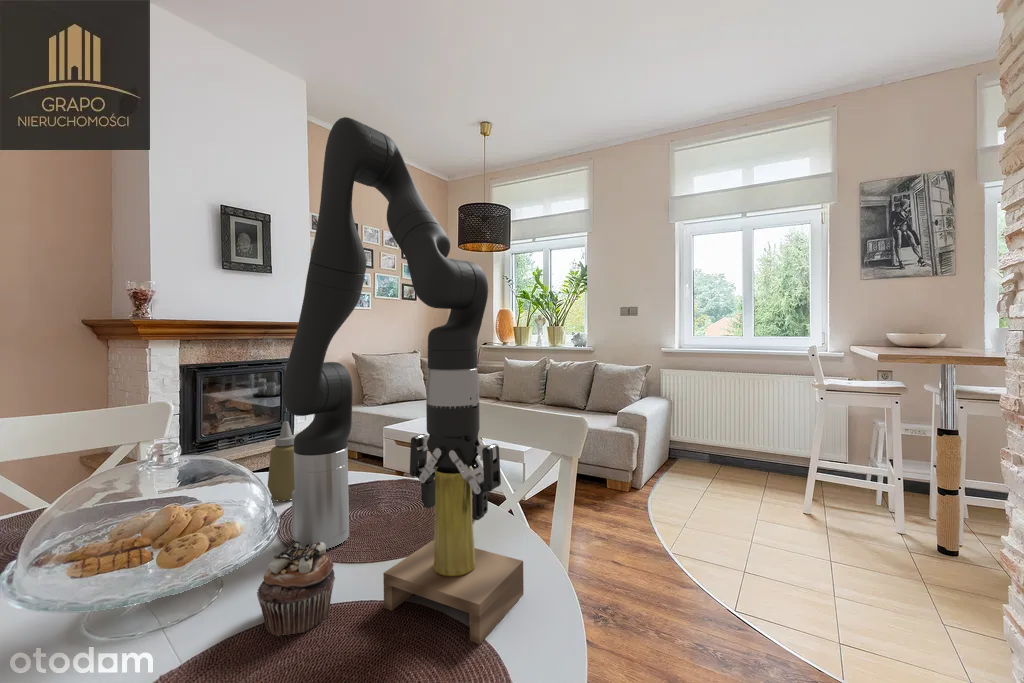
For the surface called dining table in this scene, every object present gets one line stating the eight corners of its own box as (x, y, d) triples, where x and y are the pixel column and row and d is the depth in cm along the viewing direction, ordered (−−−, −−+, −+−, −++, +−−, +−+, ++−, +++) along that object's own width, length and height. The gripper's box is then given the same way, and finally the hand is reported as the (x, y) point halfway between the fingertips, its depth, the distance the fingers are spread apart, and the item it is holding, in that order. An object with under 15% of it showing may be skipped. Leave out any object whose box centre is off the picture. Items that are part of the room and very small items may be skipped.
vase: (468, 579, 61) (467, 476, 61) (426, 575, 63) (424, 473, 62) (480, 557, 67) (479, 462, 67) (441, 553, 69) (440, 460, 68)
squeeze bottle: (259, 503, 103) (257, 424, 102) (283, 490, 111) (281, 418, 110) (291, 505, 102) (290, 425, 101) (313, 492, 110) (311, 418, 109)
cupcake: (341, 593, 67) (340, 526, 67) (326, 636, 58) (325, 559, 57) (272, 600, 66) (271, 532, 65) (245, 646, 56) (243, 566, 56)
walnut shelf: (383, 607, 64) (383, 572, 63) (436, 568, 74) (436, 537, 74) (479, 644, 56) (479, 604, 56) (523, 594, 67) (523, 560, 66)
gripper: (396, 399, 64) (397, 512, 65) (481, 407, 58) (481, 533, 58) (430, 393, 71) (431, 495, 71) (509, 399, 64) (509, 512, 65)
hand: (453, 512), depth 65 cm, fingers open, 8 cm apart
